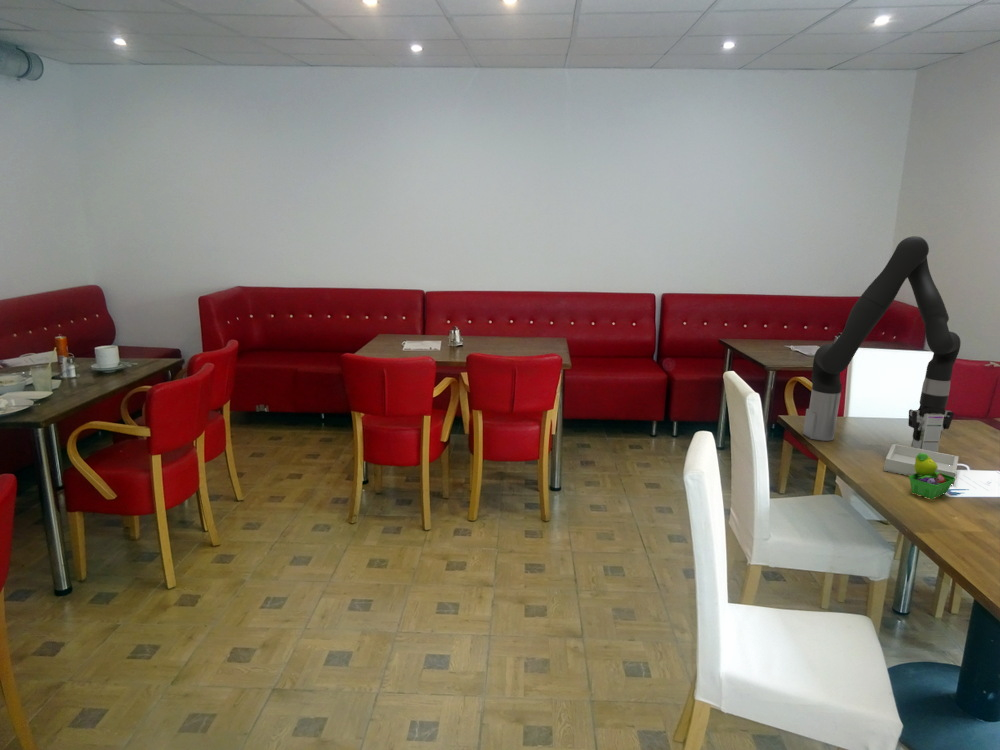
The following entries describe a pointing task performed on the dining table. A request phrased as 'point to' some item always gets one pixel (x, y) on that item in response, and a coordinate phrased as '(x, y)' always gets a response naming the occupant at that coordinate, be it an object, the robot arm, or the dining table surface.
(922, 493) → the fruit basket
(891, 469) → the tray
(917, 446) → the syrup box
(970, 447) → the dining table surface
